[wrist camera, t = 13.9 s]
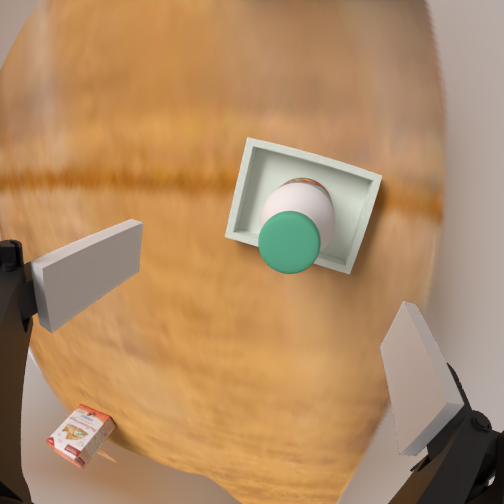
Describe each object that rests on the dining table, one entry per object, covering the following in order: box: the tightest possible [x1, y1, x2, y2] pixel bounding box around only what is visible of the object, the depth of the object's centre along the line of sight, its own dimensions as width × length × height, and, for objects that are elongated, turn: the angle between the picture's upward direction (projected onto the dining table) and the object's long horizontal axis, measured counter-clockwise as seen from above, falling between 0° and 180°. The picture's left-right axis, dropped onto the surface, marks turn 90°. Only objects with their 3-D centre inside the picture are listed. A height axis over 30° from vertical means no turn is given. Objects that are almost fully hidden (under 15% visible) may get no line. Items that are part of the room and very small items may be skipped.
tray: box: [225, 137, 382, 275], centre depth 38 cm, size 14×18×3 cm
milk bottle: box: [258, 177, 335, 274], centre depth 30 cm, size 8×8×20 cm
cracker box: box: [46, 404, 116, 469], centre depth 63 cm, size 14×6×21 cm, turn 95°
